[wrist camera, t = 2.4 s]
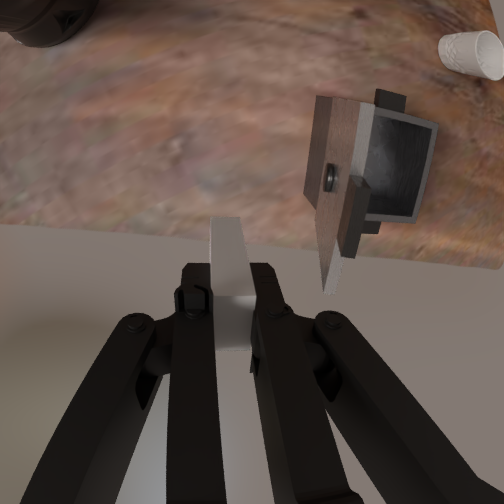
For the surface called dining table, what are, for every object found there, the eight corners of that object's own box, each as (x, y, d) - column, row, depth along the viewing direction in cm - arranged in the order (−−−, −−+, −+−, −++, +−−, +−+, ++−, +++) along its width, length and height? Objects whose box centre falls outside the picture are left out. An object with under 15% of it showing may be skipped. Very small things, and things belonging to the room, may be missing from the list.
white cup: (441, 76, 39) (482, 83, 30) (429, 32, 35) (470, 30, 26) (470, 71, 38) (510, 78, 30) (460, 30, 34) (500, 30, 26)
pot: (318, 79, 38) (342, 80, 31) (406, 99, 41) (441, 107, 33) (301, 208, 48) (318, 235, 41) (383, 213, 50) (410, 238, 43)
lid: (340, 98, 32) (327, 95, 32) (386, 107, 16) (360, 101, 16) (321, 218, 40) (309, 216, 40) (337, 316, 23) (317, 314, 24)
